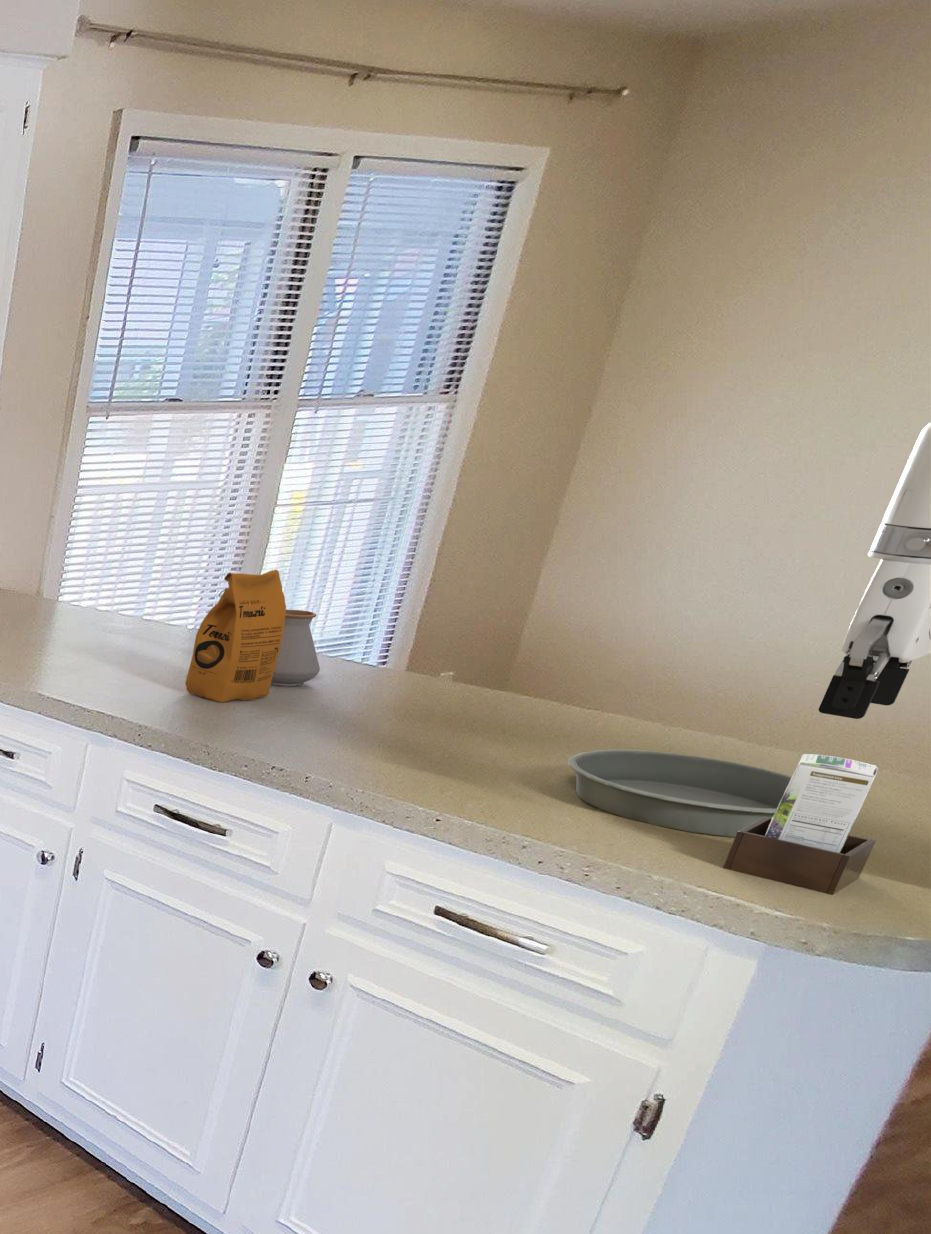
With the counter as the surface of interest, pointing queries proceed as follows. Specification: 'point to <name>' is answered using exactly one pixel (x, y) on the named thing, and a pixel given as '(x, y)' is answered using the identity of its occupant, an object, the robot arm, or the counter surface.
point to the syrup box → (822, 801)
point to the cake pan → (678, 789)
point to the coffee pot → (296, 651)
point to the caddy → (797, 860)
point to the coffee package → (239, 640)
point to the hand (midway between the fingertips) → (855, 708)
